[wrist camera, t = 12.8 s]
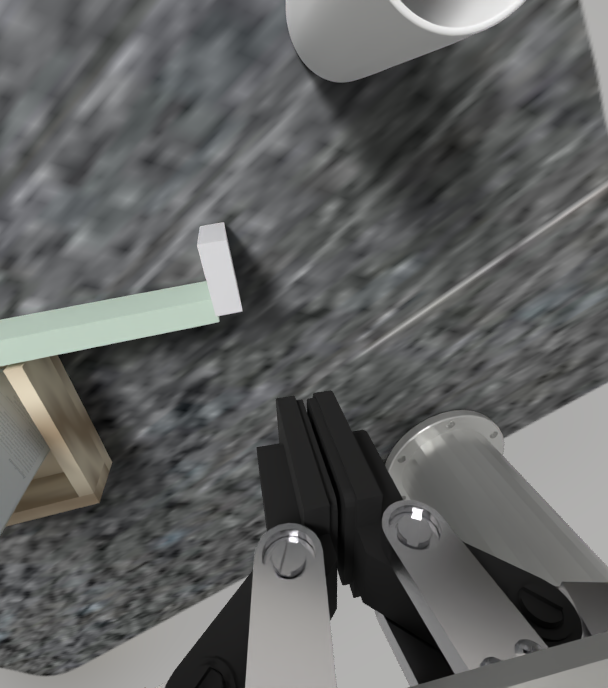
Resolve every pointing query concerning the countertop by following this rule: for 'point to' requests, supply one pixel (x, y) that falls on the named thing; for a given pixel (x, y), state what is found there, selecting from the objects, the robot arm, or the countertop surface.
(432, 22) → the mug
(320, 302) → the countertop surface
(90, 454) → the wooden tray
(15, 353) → the gate
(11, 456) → the skincare box
